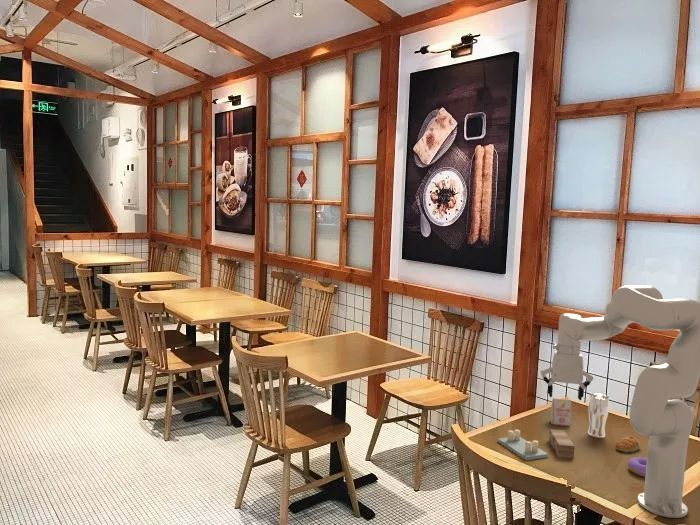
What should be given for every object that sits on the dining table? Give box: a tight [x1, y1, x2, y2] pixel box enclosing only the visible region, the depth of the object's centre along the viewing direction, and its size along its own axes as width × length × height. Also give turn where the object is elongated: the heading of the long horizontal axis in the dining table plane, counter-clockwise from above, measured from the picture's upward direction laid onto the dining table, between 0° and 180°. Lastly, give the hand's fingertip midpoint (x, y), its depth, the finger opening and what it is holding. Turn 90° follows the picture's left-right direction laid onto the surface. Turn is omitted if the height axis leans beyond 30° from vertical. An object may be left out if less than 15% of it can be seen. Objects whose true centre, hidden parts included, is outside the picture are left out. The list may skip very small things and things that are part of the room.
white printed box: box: [550, 398, 572, 427], centre depth 225 cm, size 4×7×10 cm, turn 80°
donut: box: [627, 456, 647, 478], centre depth 185 cm, size 10×9×5 cm
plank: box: [548, 429, 575, 459], centre depth 201 cm, size 14×5×4 cm, turn 173°
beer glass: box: [587, 392, 610, 439], centre depth 214 cm, size 7×7×15 cm
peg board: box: [497, 429, 549, 461], centre depth 199 cm, size 16×9×5 cm, turn 20°
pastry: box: [615, 435, 641, 453], centre depth 203 cm, size 9×7×4 cm
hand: (564, 397), depth 199 cm, fingers open, 9 cm apart
